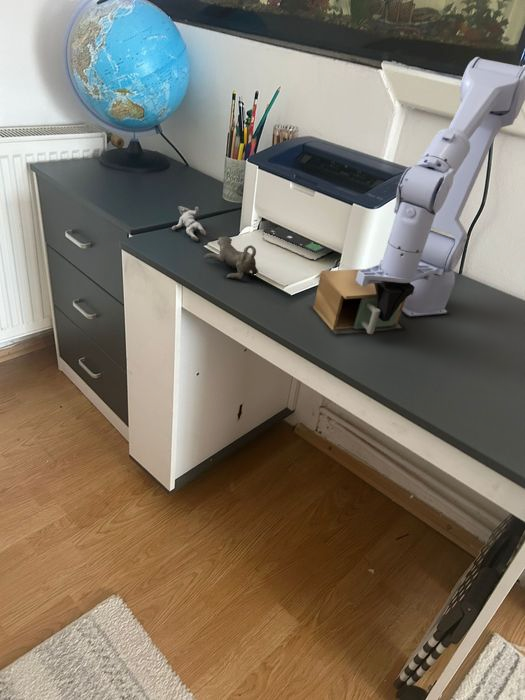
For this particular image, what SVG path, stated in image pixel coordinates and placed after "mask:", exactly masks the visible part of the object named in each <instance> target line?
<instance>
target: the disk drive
mask: <svg viewBox="0 0 525 700" xmlns="http://www.w3.org/2000/svg"><path fill="white" fill-rule="evenodd" d="M272 228H273V227H267V228H264V229H263V231H262V233H263V232H265V233H267V234H270V235H273V236H276V237H278V238H280V239H283V240H285V241H287V242H290V243H292V244H295V245H297V246H300V247H302V248H304V249H307V250H310V251H312V252H314V253H317V252H319V251H322V250H324V249H325V248H324V247H322V246H320V245H317V244H314V243H313V242H311V241H309V240H307V239H304V238H302V237H300V236H298V235H296V234H294V233H291V232H289V231H288V230H285V229H283V228H280V227H277V228H275V229H272Z"/></svg>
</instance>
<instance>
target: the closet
mask: <svg viewBox="0 0 525 700" xmlns="http://www.w3.org/2000/svg"><path fill="white" fill-rule="evenodd" d="M364 269H365V268H364ZM364 269H363V268H361V269H358V268H357V269H339V270H338V269H336V270H335V269H334V270H321V271H320V276H319V280H318V285H317V289H316V294H315V297H314V302H313V306H312V308H313V310H314V311H315V312H316V313H317V315H318V316H319V317H320V318H321V319H322V320H323V322H324V323H325V324H326V325H327V326H328V327H329V328H330V330H331V331H332V332H333V333H334V334H335V336H341V335H349V334H361V333H367V330H366V329H365V328H361V329H355V328H354V323H355V320H356V316H357V313H358V309H359V306H360V302H361V298H370V297H377V294H376V289H375V285H374V283H372V284H367V286H361V285H360V284H359V283H357V282H356V277H357V273H358V270H364ZM413 293H414V292H413ZM413 293H412V294H410V295H413ZM405 300H406V299H405ZM405 300H404V301H403V302H402V303H401V304H400V306H399V309H398V312H397V315H396V318H395V321H394V324H393V326H382V327H375V330H374V332H382V331H391V330H401V329H402V326H401V325H400V324H399V320H400V318H401V315H402V312H403V311H402V309H403V306H404V303H405Z"/></svg>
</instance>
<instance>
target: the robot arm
mask: <svg viewBox="0 0 525 700" xmlns="http://www.w3.org/2000/svg"><path fill="white" fill-rule="evenodd" d="M459 93H460V96H459V100H460V105H459V107H458V109H457V110H456V112H455V114H454V116H453V118H452V120H451V121H450V124H449V126H448V128H443V129H441V130H439V131H438V132H436V133H435V134H434V137H433V138H432V140H431V142H430V143H429V144H428V145H427V148H426V149H425V151H424V153H423V154H422V156H421V157H420V158H419V160H418V162H417V163H416V164H415V165H413V166H408V167H407V168H406V169H405V170H404V172H403V174H402V176H401V178H400V180H399V182H398V185H397V188H396V194H395V205H394V208H393V213H395V215H394V219H393V224H392V227H391V230H390V234H389V236H388V240H387V242H386V243H387V244H386V247H385V250H384V254H383V257H382V259H380V260H379V263H378V264H377V265H373V266H371V267H368V268H364V270H358V269H357V270H358V273H357V277H356V282H357V283H359V284H360V285H361V286H367V284H372V283H374V285H375V289H376V294H377V308H378V309H380V314H379V318H380V319H381V320H382V321H389V320H390V318H391V317H392V315H393V314H394V312H395V311H396V309H397V308H398V307H399V305H400V304H401V303H402V302H403V301H404V300H405V299H406V300H405V303H404V306H403V309H402V312H403V313H404V314H405V315H406V316H407V317H421V316H434V315H445V314H447V313H448V310H446V306H447V304H448V301H449V299H450V296H451V294H452V291H453V288H454V287H455V286H454V285H455V281H456V276H455V271H454V270H455V269H456V267H458V264H459V262H460V260H461V257H462V256H463V252H464V250H465V245H466V243H467V240H468V232H467V230H466V229H465V227H464V225H463V223H462V222H461V220H460V218H461V216H462V214H463V211H464V208H465V207H466V204H467V202H468V200H469V198H470V195H471V193H472V191H473V188H474V185H475V183H476V181H477V179H478V177H479V174H480V172H481V170H482V167H483V165H484V163H485V161H486V159H487V157H488V154H489V152H490V149H491V147H492V145H493V142H494V140H495V139H496V137H497V135H498V134H499V132H500V130H501V129H502V128H504V127H508V126H512V125H513V124H514V122H515V120H516V119H517V118H518V116H519V114H520V112H521V110H522V107H523V105H524V103H525V66H521V65H517V64H516V65H515V64H510V63H505V62H500V61H496V60H490V59H484V58H481V57H480V56H476V57H474V58H473V59H472V60H470V61H469V63H468V64H467V66H466V68H465V70H464V72H463V76H462V78H461V81H460V87H459ZM431 229H435V230H437V232H436V231H435V230H431ZM438 231H440V232H444V233H446V234H449V235H451V236H452V237H451V236H448V235H445V234H443V233H440V232H438ZM413 292H414V293H413ZM412 293H413V295H410V294H412Z"/></svg>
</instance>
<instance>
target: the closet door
mask: <svg viewBox="0 0 525 700" xmlns="http://www.w3.org/2000/svg"><path fill="white" fill-rule="evenodd" d="M399 306H400V305H399ZM398 309H399V307H398V308H397V309H396V311H395V312H394V314H393V315H392V317H391V318H390V320H389V321H382V320H381V319H380V318H379V314H380V309H378V308H377V297H370V298H361V302H360V306H359V309H358V313H357V316H356V320H355V323H354V328H355V329H361V328H365V329H366V330H367V332H366V333H367V334H369V335H373V334H374V333H375V331H374V330H375V327H382V326H393V324H394V321H395V318H396V315H397V312H398Z"/></svg>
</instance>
